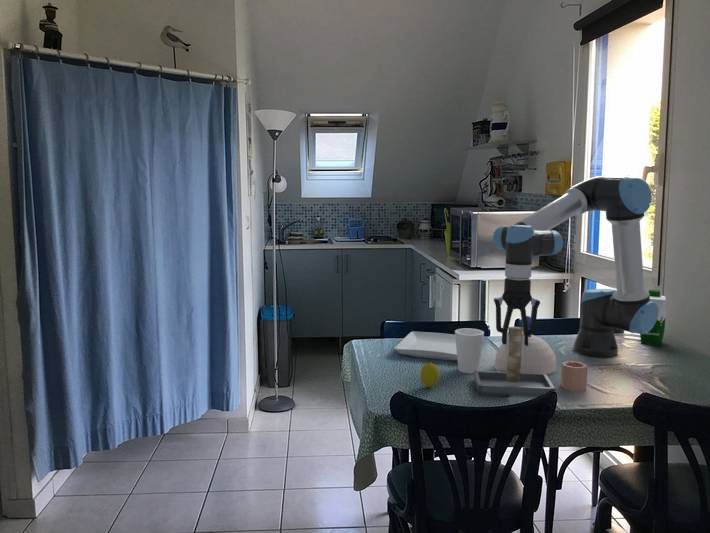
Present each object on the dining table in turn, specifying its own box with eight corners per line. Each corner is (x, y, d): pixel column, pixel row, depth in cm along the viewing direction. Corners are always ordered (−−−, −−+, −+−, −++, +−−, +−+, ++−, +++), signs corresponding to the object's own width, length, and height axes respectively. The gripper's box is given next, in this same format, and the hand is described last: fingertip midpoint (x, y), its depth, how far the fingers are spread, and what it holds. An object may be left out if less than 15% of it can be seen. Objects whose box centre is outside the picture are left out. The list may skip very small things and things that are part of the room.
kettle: (554, 362, 221) (557, 311, 218) (559, 381, 201) (562, 325, 198) (494, 358, 225) (496, 308, 223) (493, 376, 205) (495, 321, 203)
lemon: (418, 385, 196) (419, 359, 195) (436, 384, 197) (437, 359, 195) (422, 391, 191) (422, 365, 189) (440, 390, 191) (441, 364, 190)
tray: (545, 382, 199) (545, 373, 198) (554, 398, 185) (555, 388, 185) (473, 380, 201) (474, 370, 201) (477, 395, 187) (478, 385, 187)
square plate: (470, 366, 216) (470, 355, 216) (392, 358, 225) (392, 347, 225) (481, 346, 242) (482, 336, 241) (411, 339, 251) (411, 329, 250)
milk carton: (662, 340, 250) (666, 290, 247) (663, 346, 241) (668, 294, 238) (638, 338, 253) (641, 288, 250) (638, 344, 245) (642, 292, 242)
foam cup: (482, 375, 205) (483, 336, 204) (453, 373, 207) (454, 334, 205) (482, 366, 215) (484, 329, 213) (454, 365, 216) (455, 327, 215)
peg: (518, 378, 194) (521, 326, 192) (520, 382, 190) (523, 330, 188) (505, 377, 195) (507, 326, 192) (507, 381, 191) (509, 329, 188)
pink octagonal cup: (582, 386, 195) (583, 361, 194) (587, 394, 189) (589, 368, 187) (558, 386, 196) (560, 360, 195) (563, 393, 189) (565, 367, 188)
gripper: (544, 276, 191) (540, 352, 194) (487, 275, 193) (484, 350, 196) (549, 280, 184) (545, 359, 187) (490, 279, 185) (487, 357, 189)
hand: (514, 354), depth 192 cm, fingers closed on peg, 4 cm apart
